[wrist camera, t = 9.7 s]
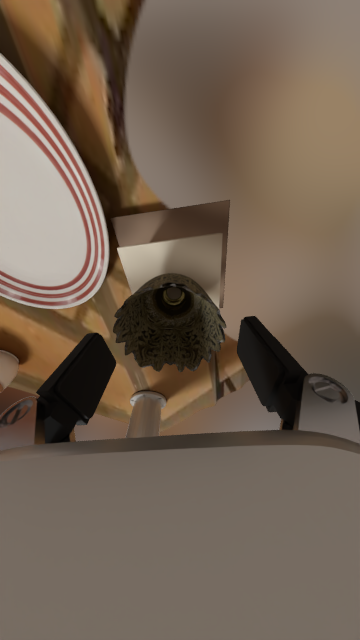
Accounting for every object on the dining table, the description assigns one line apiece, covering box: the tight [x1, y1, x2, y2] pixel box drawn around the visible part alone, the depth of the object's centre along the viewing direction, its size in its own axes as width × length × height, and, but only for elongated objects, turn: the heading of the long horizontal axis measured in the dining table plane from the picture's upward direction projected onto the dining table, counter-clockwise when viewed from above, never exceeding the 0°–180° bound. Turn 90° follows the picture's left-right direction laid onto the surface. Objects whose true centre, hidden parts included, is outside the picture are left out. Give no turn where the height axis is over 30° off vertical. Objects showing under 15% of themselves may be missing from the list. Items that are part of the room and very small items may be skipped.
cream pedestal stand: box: [110, 200, 230, 309], centre depth 20 cm, size 16×16×10 cm
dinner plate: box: [0, 53, 109, 309], centre depth 19 cm, size 28×27×3 cm
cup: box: [113, 273, 226, 372], centre depth 12 cm, size 8×7×8 cm
